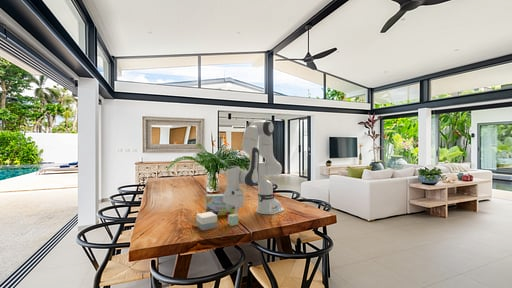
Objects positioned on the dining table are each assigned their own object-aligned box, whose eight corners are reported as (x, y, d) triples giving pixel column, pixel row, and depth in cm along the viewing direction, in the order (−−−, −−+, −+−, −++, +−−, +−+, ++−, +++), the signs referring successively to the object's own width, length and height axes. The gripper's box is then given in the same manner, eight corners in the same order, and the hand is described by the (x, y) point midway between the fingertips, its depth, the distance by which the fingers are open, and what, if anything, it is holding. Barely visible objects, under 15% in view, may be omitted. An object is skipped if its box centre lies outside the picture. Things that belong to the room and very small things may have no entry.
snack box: (206, 216, 174) (206, 195, 174) (206, 214, 180) (206, 194, 180) (234, 214, 178) (234, 194, 178) (234, 212, 184) (234, 193, 184)
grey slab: (210, 223, 160) (210, 217, 160) (217, 227, 152) (217, 221, 152) (196, 226, 154) (196, 220, 154) (202, 231, 146) (202, 224, 146)
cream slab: (210, 217, 160) (210, 211, 160) (217, 221, 152) (217, 215, 152) (196, 220, 154) (196, 214, 154) (202, 224, 146) (202, 218, 146)
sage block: (234, 222, 161) (234, 213, 161) (238, 224, 157) (238, 215, 157) (227, 223, 158) (227, 214, 158) (231, 226, 154) (231, 216, 154)
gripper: (221, 188, 164) (221, 209, 163) (236, 193, 147) (236, 215, 147) (229, 188, 168) (229, 207, 167) (245, 192, 151) (245, 214, 151)
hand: (232, 211), depth 157 cm, fingers open, 8 cm apart
